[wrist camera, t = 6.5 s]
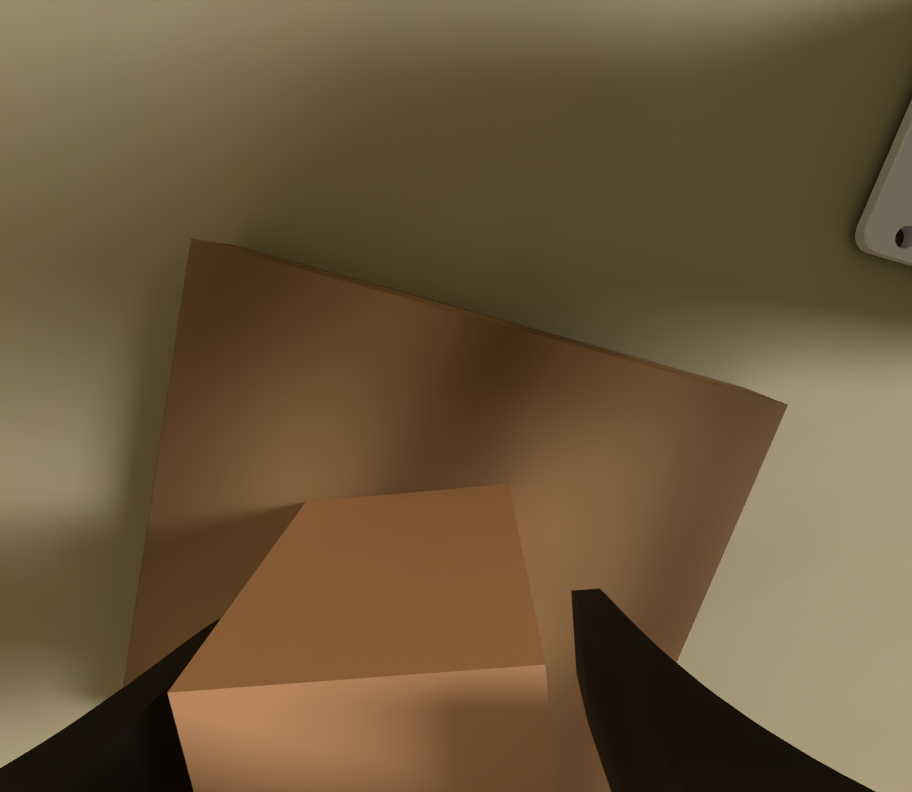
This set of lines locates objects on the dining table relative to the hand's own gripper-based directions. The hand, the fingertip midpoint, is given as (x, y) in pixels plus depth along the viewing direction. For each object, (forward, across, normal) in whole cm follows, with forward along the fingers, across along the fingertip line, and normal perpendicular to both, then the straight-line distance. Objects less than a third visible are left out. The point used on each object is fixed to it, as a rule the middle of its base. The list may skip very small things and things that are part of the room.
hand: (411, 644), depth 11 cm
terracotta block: (+2, 0, 0) cm, 2 cm away
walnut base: (+4, 0, 0) cm, 4 cm away
